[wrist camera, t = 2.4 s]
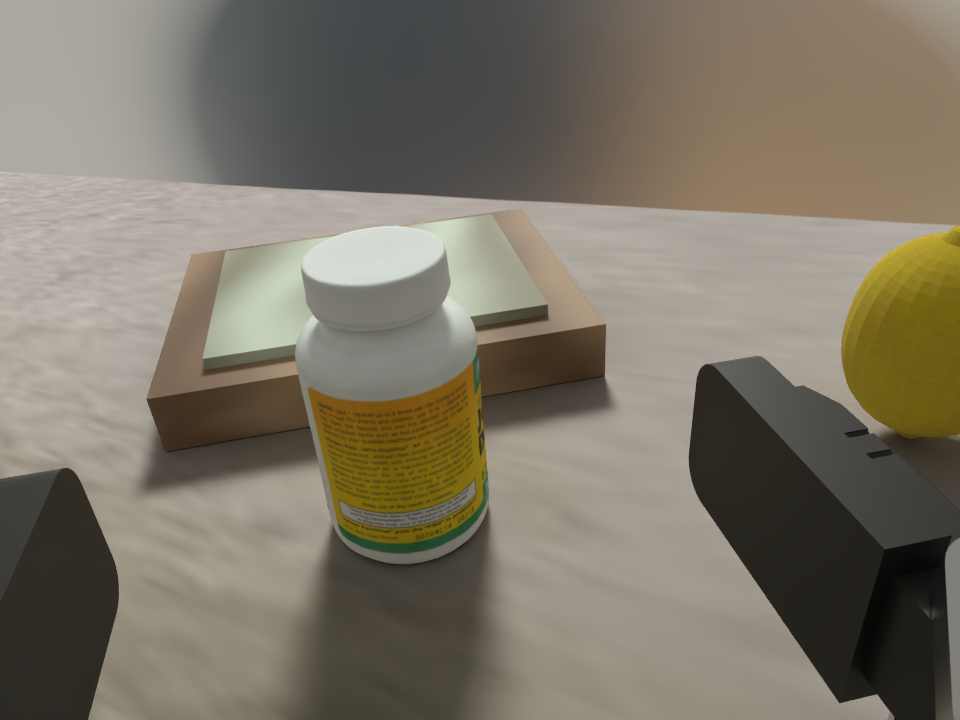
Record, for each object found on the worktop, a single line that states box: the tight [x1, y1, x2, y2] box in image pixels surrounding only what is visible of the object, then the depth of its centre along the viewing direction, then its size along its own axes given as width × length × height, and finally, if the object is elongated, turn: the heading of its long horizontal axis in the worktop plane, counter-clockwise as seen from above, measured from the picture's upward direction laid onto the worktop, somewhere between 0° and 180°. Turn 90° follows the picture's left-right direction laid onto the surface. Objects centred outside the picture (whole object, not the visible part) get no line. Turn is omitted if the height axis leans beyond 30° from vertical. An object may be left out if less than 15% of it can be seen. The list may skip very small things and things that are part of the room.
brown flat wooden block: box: [147, 209, 606, 451], centre depth 36 cm, size 18×14×3 cm
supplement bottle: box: [295, 226, 489, 564], centre depth 23 cm, size 5×5×10 cm
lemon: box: [841, 226, 960, 439], centre depth 25 cm, size 6×6×8 cm
